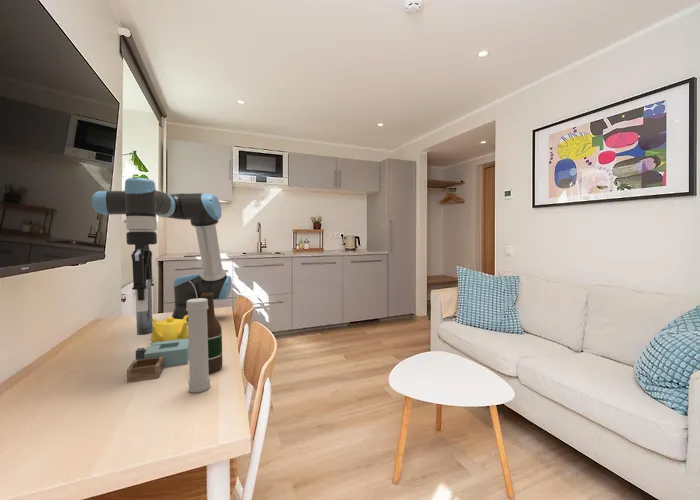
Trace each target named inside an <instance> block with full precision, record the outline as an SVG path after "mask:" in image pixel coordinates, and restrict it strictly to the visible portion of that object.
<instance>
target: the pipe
mask: <svg viewBox="0 0 700 500" xmlns="http://www.w3.org/2000/svg"><path fill="white" fill-rule="evenodd" d="M188 281H189V280H188ZM189 282H190V283H191V284H192V285H193V283H192V282H191V281H189ZM193 287H194V285H193ZM194 289H195V287H194ZM195 292H196V289H195ZM196 297H197V292H196ZM186 305H187V308H186V311H188V335H189V360H188V365H189V379H188V381H187V382H188V383H187V384H188V391H189V392H191V393H202V392H204V391H207V390H208V389H210V387H211V376H210V374H209V366H208V329H207V309H209V306H208V300H207V299H205V298H197V299H190V300H188V301H187V302H186Z"/></svg>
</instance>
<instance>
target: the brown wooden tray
mask: <svg viewBox="0 0 700 500" xmlns="http://www.w3.org/2000/svg"><path fill="white" fill-rule="evenodd" d="M164 370H165V367H164V356H163V357H155V358H148V359H140V360H136V359H134V360H133V361H132V363H131V364H130V365H129V366H128V368H127V369H126V383H134V382H140V381H147V380H152V379H153V380H154V379H159V378H161V375H162V374H163V371H164Z"/></svg>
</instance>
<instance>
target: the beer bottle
mask: <svg viewBox="0 0 700 500" xmlns="http://www.w3.org/2000/svg"><path fill="white" fill-rule="evenodd" d="M213 296H214V294H213V293H210V292H209V293H203V294H201V298H205V299H207V300H208V306H209V309H207V329H208V366H209V375H212V374H215V373H217V372H219V371H221V369H222V367H223V332H222V325H221V323H220V322H219V320H218V319H217V317H216V314H215V304H214V299H213Z"/></svg>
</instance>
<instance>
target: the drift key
mask: <svg viewBox="0 0 700 500" xmlns="http://www.w3.org/2000/svg"><path fill="white" fill-rule="evenodd" d="M147 349H148V348H145V347H138V348H136V349H135V360H140V359H144V353H145V352H146V351H147Z"/></svg>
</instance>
